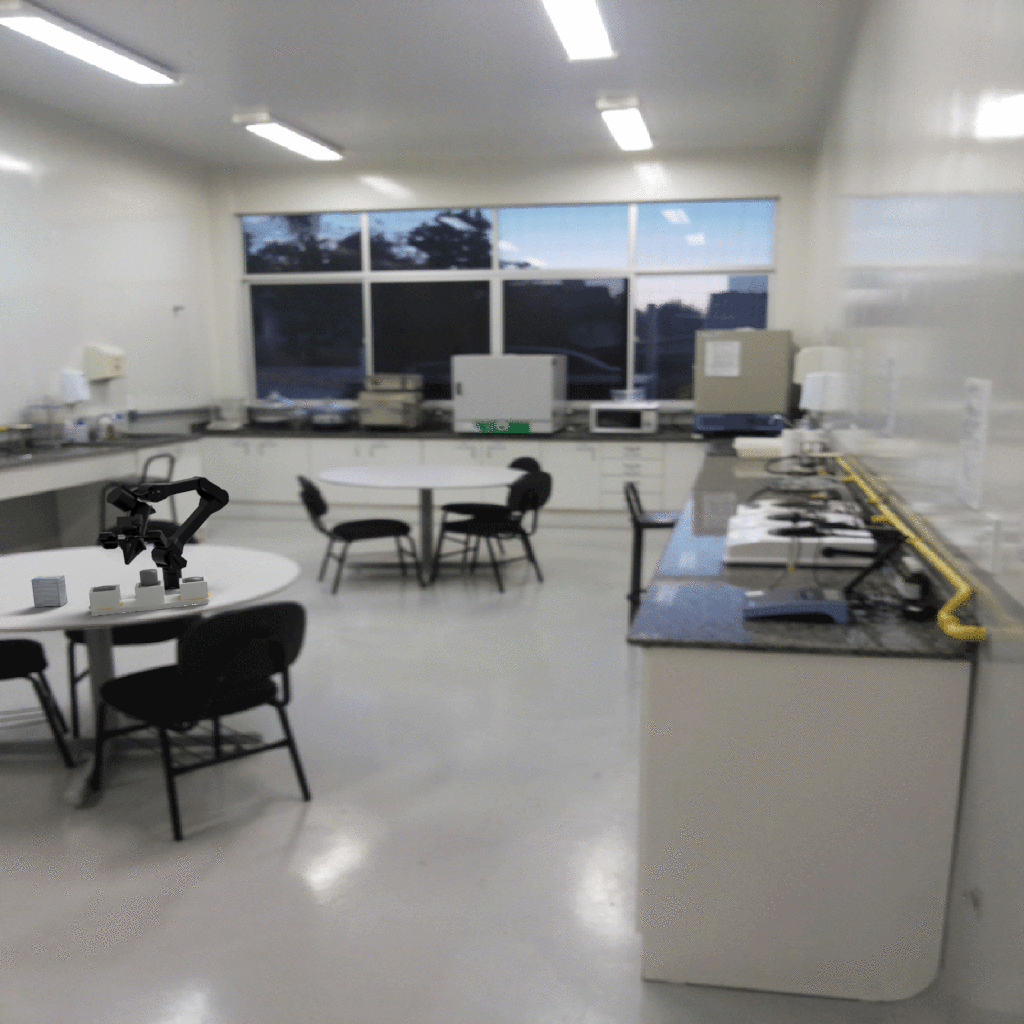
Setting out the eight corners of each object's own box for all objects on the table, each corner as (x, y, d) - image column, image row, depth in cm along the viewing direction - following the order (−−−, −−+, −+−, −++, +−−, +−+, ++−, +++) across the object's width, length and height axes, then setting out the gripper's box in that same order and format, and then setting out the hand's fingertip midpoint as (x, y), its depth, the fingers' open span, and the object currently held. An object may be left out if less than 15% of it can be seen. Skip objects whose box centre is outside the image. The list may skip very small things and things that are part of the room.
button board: (90, 608, 258) (88, 586, 257) (210, 595, 270) (208, 574, 269) (87, 617, 249) (85, 594, 248) (211, 603, 260) (209, 581, 259)
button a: (185, 590, 264) (184, 577, 264) (202, 588, 266) (201, 575, 265) (185, 594, 260) (184, 581, 259) (202, 592, 262) (201, 579, 261)
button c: (97, 599, 256) (95, 586, 255) (115, 597, 258) (114, 584, 257) (96, 603, 252) (94, 590, 251) (114, 602, 253) (113, 588, 253)
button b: (140, 583, 260) (139, 570, 259) (158, 581, 261) (157, 568, 261) (140, 587, 255) (139, 573, 254) (158, 585, 257) (156, 571, 256)
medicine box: (68, 602, 265) (65, 574, 263) (61, 606, 261) (58, 578, 259) (41, 603, 265) (38, 575, 263) (34, 607, 260) (30, 579, 259)
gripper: (95, 505, 261) (83, 551, 252) (159, 503, 261) (148, 548, 252) (110, 526, 270) (99, 570, 262) (171, 524, 270) (162, 568, 262)
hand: (126, 564), depth 259 cm, fingers closed
